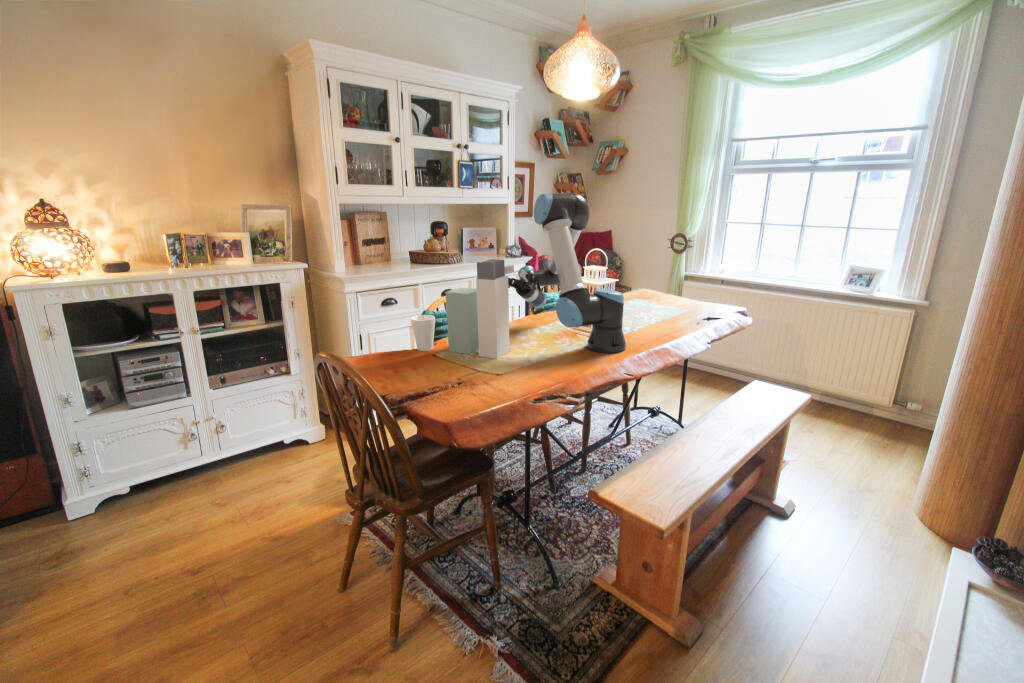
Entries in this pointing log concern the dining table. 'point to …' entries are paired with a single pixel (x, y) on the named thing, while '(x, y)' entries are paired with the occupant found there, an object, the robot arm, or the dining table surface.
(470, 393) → the dining table surface
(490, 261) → the charger
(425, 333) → the foam cup
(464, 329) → the sage green pillar
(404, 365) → the dining table surface
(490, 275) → the tower
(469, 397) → the dining table surface
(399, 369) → the dining table surface
